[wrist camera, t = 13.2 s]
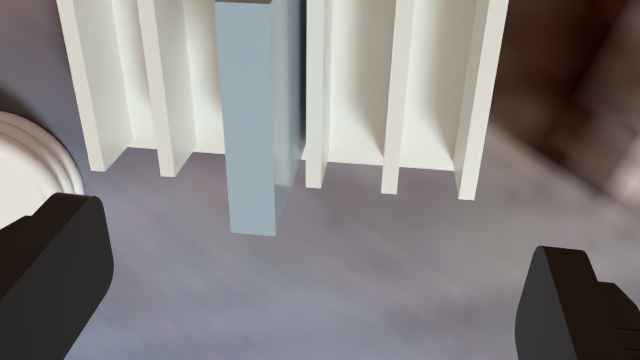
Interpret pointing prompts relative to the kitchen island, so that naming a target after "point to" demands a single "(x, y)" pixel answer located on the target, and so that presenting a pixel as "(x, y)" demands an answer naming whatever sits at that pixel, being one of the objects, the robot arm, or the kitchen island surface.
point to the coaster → (31, 168)
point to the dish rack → (321, 82)
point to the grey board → (261, 106)
